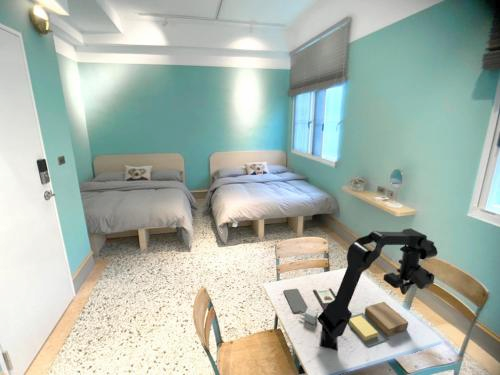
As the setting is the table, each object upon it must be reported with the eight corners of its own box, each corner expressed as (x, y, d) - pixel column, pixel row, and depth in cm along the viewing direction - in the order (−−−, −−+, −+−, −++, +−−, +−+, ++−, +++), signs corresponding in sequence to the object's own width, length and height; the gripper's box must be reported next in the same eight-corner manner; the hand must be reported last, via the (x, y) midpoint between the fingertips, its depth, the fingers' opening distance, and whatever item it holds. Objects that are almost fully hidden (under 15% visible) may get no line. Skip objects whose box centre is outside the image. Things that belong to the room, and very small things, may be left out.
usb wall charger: (314, 325, 103) (315, 317, 102) (298, 318, 107) (298, 310, 105) (317, 318, 107) (317, 311, 105) (301, 312, 110) (301, 304, 109)
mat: (362, 313, 109) (362, 312, 109) (389, 339, 97) (389, 338, 97) (343, 319, 106) (343, 318, 106) (368, 347, 94) (368, 346, 93)
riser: (382, 309, 112) (383, 301, 110) (406, 330, 101) (408, 322, 100) (364, 314, 108) (365, 307, 107) (387, 337, 98) (388, 329, 96)
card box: (349, 319, 103) (348, 323, 104) (365, 336, 95) (364, 340, 96) (360, 315, 105) (360, 319, 106) (377, 332, 97) (377, 336, 98)
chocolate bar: (329, 318, 106) (313, 290, 123) (328, 320, 106) (313, 291, 123) (349, 316, 107) (330, 288, 124) (349, 318, 107) (330, 290, 124)
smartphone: (297, 288, 124) (309, 310, 110) (297, 289, 125) (309, 312, 111) (282, 290, 123) (293, 312, 109) (282, 291, 123) (293, 314, 109)
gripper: (411, 277, 89) (403, 313, 93) (448, 267, 95) (439, 301, 99) (385, 260, 99) (379, 294, 103) (420, 252, 105) (413, 284, 109)
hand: (403, 293), depth 104 cm, fingers closed
